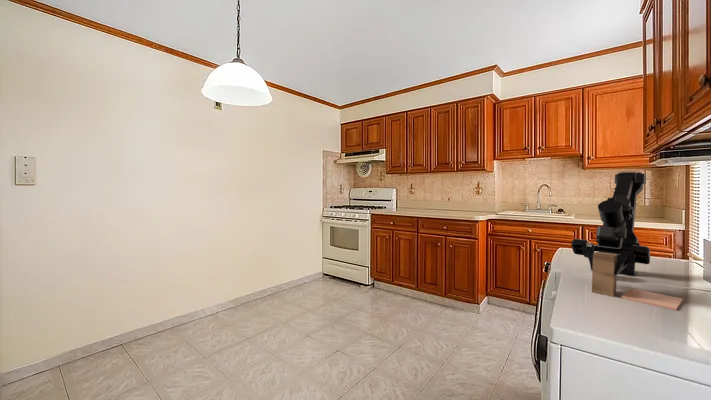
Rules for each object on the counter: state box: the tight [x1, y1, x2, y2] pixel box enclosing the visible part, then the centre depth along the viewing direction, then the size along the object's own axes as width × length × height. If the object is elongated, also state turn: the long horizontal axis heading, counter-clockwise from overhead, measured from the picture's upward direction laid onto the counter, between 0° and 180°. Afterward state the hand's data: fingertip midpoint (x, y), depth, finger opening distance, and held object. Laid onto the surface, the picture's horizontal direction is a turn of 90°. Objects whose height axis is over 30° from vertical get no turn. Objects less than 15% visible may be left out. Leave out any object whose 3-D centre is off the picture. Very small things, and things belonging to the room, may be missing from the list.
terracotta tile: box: [621, 288, 684, 311], centre depth 86 cm, size 11×11×1 cm
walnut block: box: [591, 251, 618, 297], centre depth 91 cm, size 5×5×12 cm
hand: (603, 272), depth 90 cm, fingers open, 5 cm apart
